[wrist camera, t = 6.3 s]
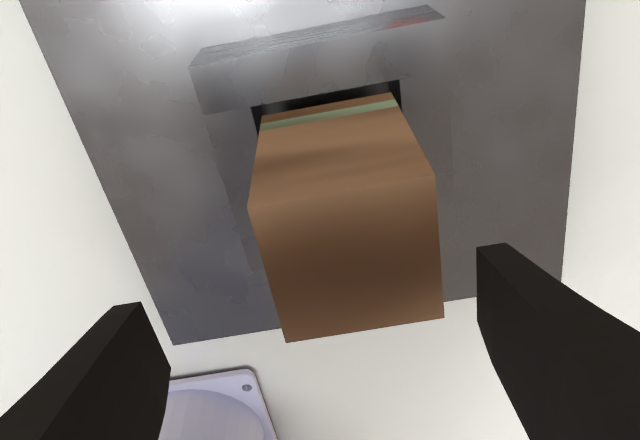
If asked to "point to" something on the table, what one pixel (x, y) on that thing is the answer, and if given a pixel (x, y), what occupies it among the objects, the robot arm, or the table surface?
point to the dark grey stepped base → (301, 92)
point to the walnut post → (346, 219)
